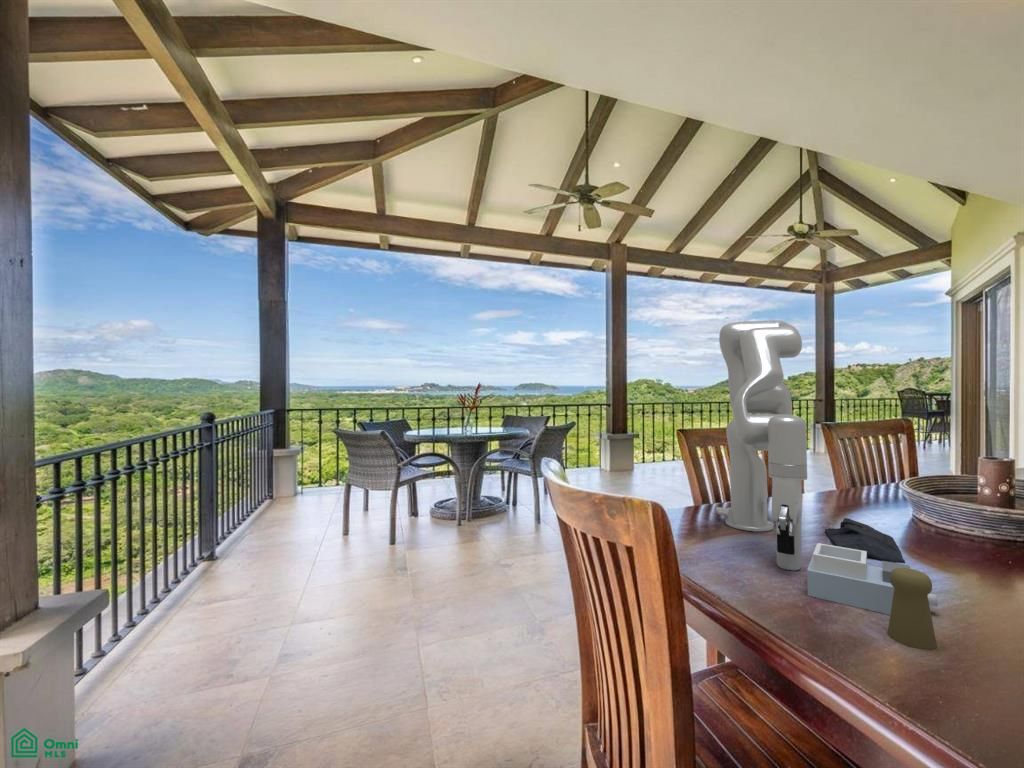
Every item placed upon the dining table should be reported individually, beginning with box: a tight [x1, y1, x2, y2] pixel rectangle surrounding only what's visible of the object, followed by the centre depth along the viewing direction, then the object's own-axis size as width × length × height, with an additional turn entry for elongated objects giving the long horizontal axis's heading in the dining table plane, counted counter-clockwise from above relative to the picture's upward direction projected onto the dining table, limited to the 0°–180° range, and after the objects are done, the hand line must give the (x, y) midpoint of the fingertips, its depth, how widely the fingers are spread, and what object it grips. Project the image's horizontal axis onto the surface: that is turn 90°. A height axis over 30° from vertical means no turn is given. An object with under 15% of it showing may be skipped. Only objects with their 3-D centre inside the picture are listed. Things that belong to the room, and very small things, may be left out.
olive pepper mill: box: [887, 568, 938, 651], centre depth 74 cm, size 6×6×11 cm
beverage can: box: [775, 512, 802, 572], centre depth 104 cm, size 5×5×12 cm
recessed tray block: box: [806, 542, 939, 616], centre depth 88 cm, size 19×10×8 cm, turn 51°
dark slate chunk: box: [824, 517, 906, 564], centre depth 118 cm, size 15×22×5 cm
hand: (789, 547), depth 103 cm, fingers open, 9 cm apart
